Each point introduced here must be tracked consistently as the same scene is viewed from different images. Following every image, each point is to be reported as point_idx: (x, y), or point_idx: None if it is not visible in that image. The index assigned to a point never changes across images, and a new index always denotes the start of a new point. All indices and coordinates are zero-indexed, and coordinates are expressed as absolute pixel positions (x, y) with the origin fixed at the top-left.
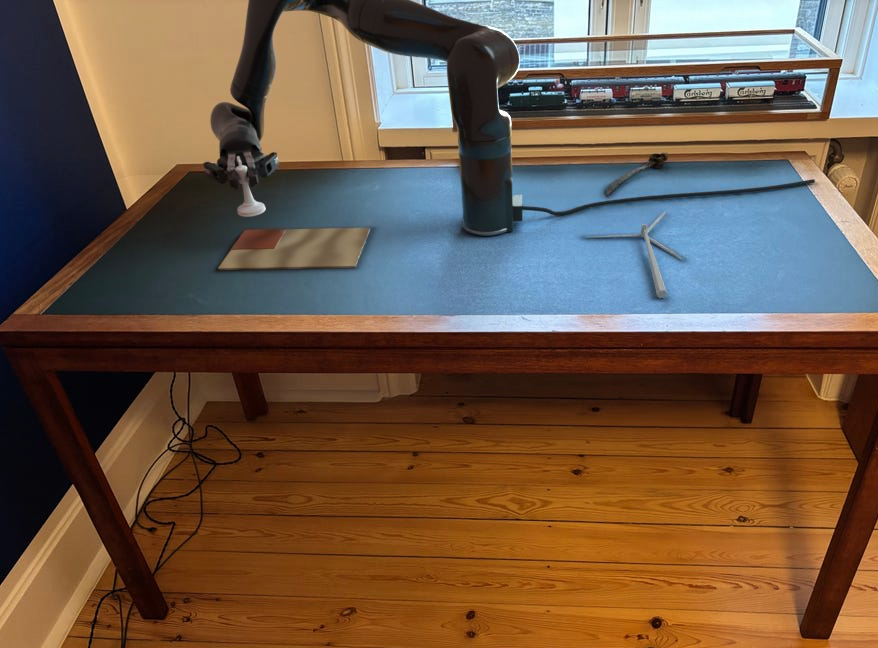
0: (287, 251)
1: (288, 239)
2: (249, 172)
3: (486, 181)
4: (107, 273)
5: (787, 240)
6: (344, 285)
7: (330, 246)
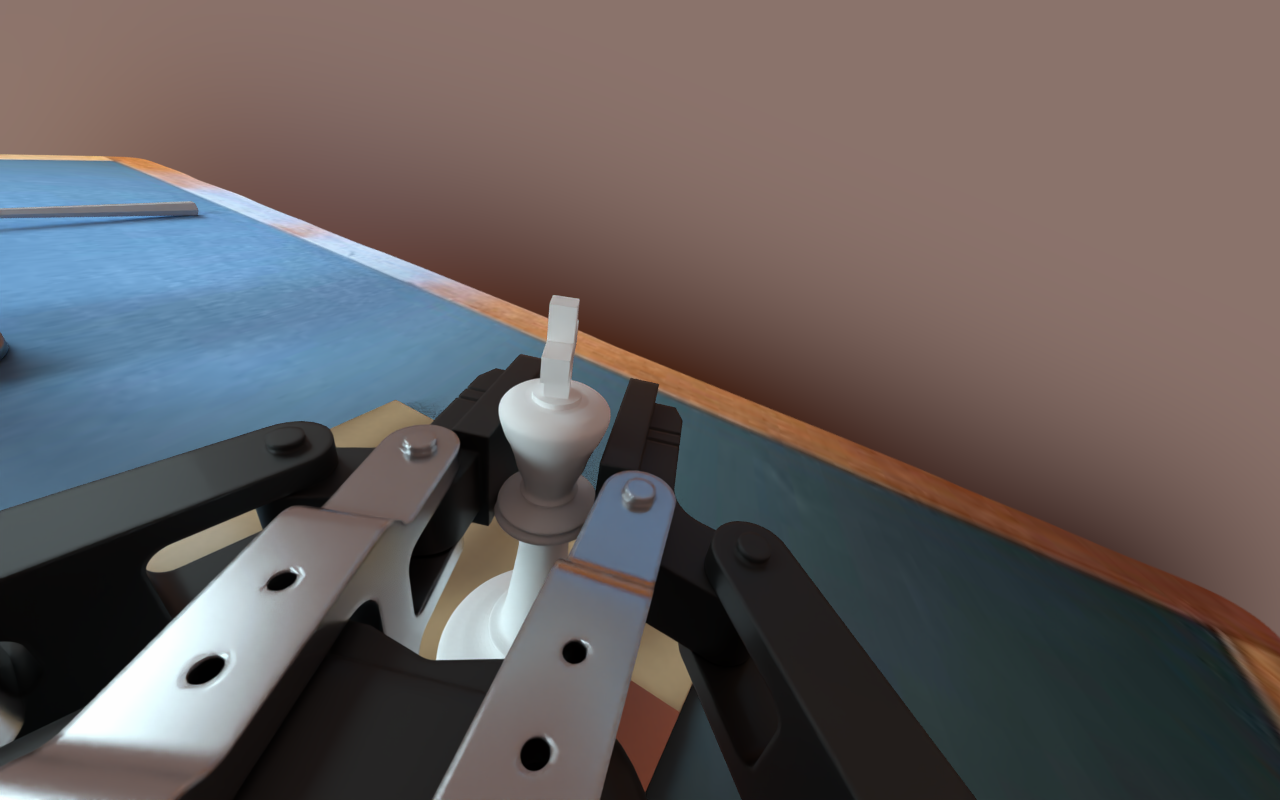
0: (483, 555)
1: None
2: (516, 381)
3: None
4: None
5: None
6: (471, 377)
7: None
